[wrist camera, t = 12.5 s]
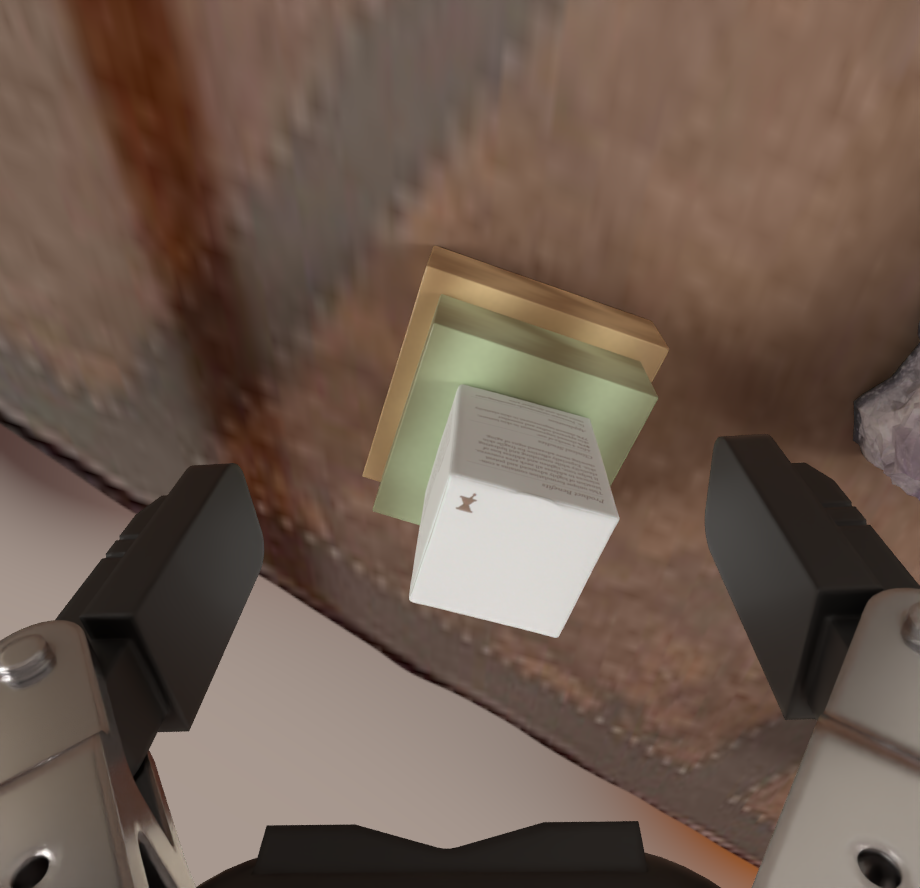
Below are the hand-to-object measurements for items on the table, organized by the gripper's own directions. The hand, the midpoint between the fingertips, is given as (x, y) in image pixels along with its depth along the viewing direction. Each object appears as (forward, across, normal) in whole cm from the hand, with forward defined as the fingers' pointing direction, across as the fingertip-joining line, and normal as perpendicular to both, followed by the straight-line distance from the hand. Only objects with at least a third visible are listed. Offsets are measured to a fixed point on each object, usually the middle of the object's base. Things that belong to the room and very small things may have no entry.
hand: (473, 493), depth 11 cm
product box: (+16, 0, +9) cm, 18 cm away
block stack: (+24, 0, +9) cm, 25 cm away
